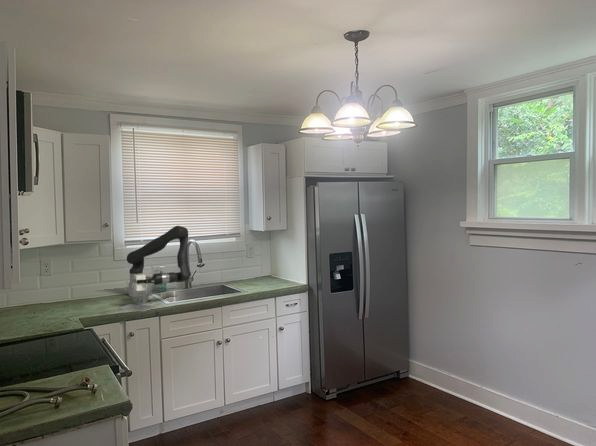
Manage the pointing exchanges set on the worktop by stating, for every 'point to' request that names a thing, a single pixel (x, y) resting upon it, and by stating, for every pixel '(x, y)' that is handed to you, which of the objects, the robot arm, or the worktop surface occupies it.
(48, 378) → the worktop surface
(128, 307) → the mounting plate
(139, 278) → the breaker module
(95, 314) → the worktop surface
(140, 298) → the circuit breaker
